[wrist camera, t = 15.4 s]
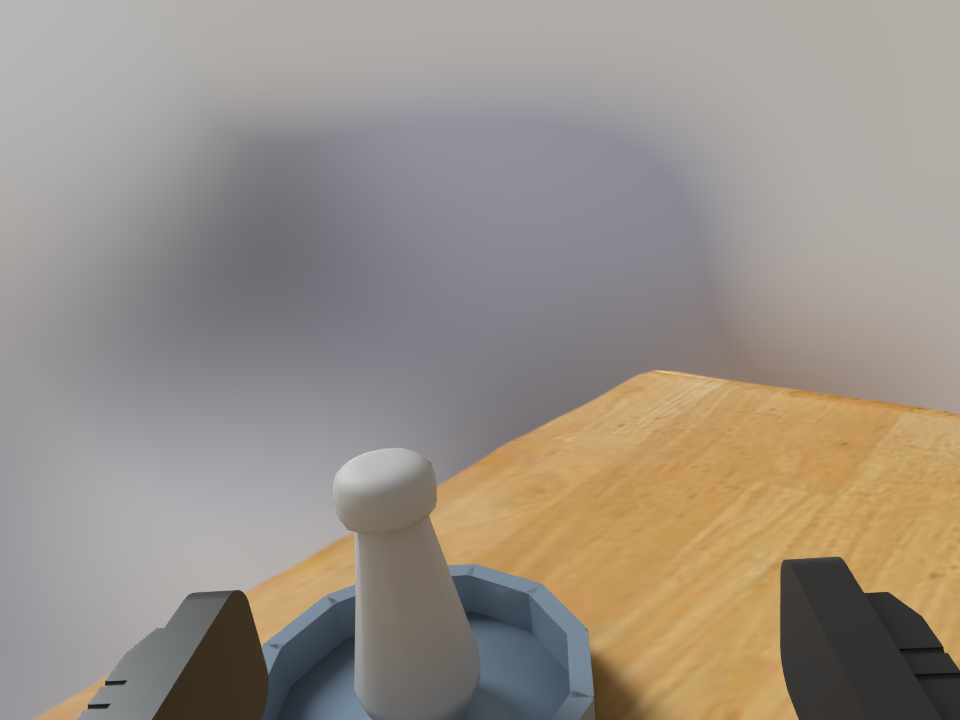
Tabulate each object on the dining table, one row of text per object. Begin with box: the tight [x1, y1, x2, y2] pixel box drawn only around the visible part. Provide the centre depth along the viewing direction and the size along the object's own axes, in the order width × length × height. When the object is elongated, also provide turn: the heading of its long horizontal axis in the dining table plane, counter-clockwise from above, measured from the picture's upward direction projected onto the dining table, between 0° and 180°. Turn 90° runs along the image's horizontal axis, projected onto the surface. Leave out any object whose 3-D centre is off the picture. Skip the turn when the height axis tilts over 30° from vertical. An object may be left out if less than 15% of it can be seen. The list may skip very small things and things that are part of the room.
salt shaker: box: [333, 448, 481, 720], centre depth 33 cm, size 6×6×13 cm
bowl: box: [261, 564, 596, 720], centre depth 35 cm, size 16×16×3 cm
